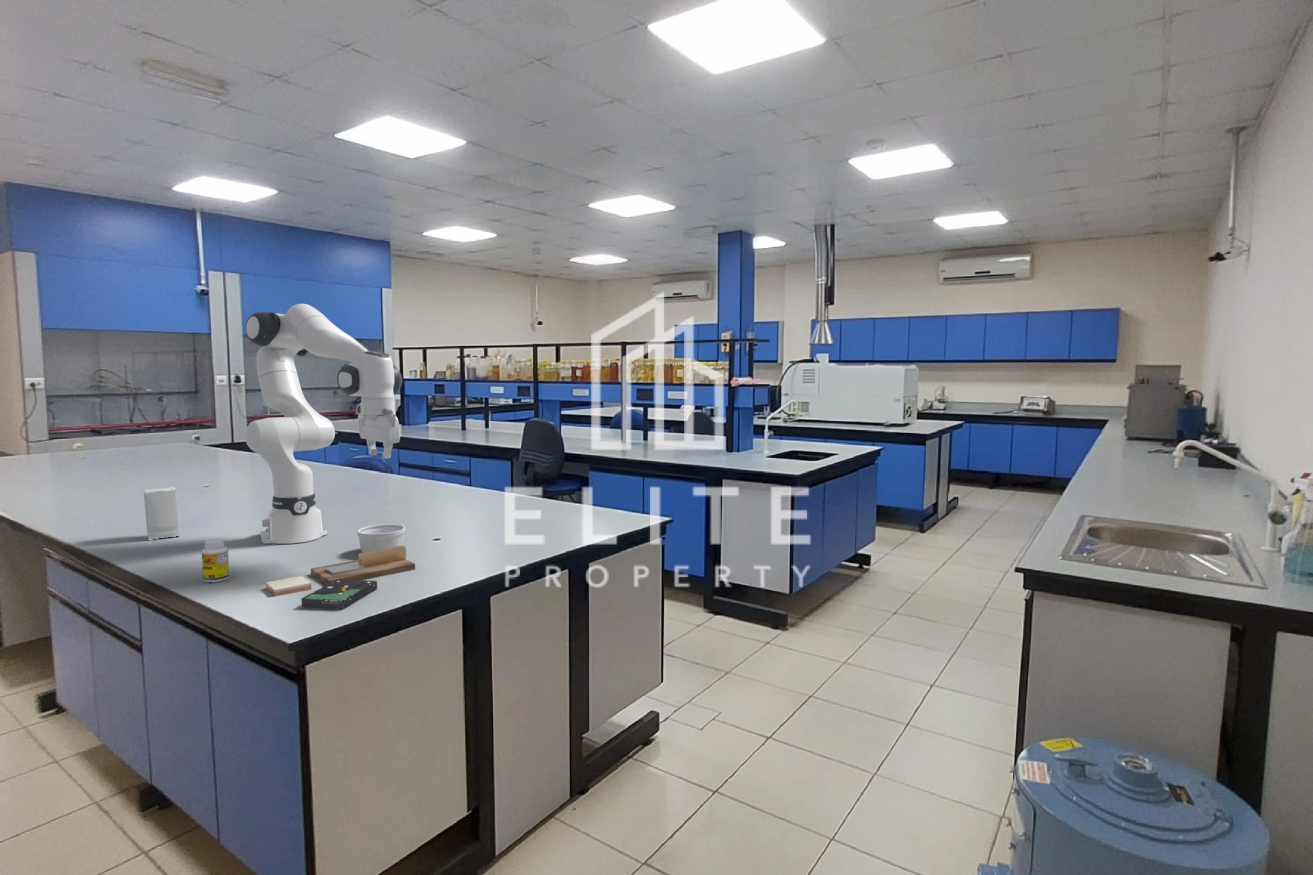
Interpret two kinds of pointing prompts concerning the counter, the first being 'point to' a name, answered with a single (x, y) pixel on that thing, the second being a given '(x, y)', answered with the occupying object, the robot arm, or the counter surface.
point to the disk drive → (339, 594)
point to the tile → (288, 585)
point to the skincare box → (161, 513)
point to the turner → (370, 560)
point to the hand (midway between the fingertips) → (379, 456)
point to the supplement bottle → (215, 561)
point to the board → (363, 571)
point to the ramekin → (381, 537)
